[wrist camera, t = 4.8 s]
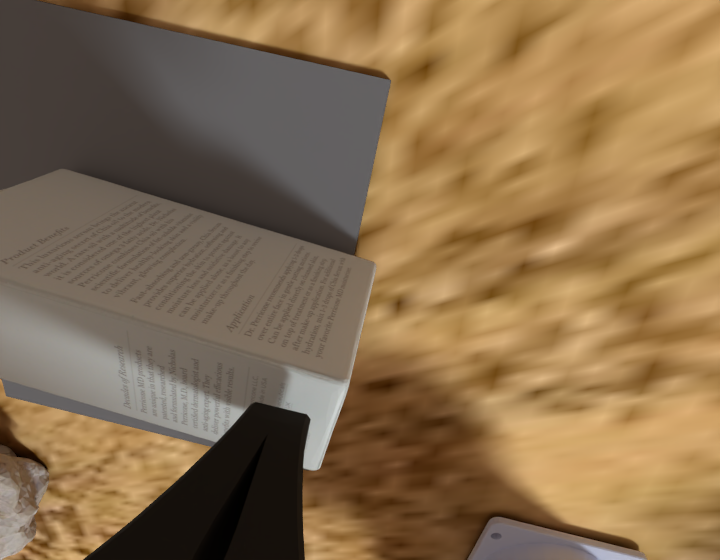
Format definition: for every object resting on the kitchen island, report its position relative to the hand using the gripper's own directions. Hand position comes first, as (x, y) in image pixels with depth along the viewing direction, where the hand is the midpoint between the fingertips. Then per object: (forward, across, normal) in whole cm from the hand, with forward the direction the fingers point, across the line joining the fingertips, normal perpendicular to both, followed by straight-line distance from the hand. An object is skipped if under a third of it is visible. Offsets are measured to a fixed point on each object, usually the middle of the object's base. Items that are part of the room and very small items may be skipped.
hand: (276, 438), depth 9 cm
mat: (+7, +8, +1) cm, 11 cm away
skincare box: (+4, -2, 0) cm, 4 cm away
